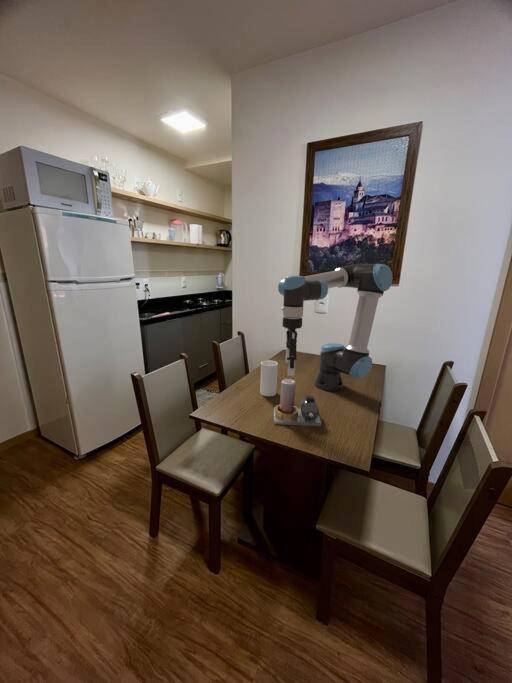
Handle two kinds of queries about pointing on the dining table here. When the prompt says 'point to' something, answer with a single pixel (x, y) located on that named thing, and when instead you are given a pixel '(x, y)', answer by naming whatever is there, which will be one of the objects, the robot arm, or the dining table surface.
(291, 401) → the beverage can
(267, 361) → the cup
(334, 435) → the dining table surface
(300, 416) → the motor unit
